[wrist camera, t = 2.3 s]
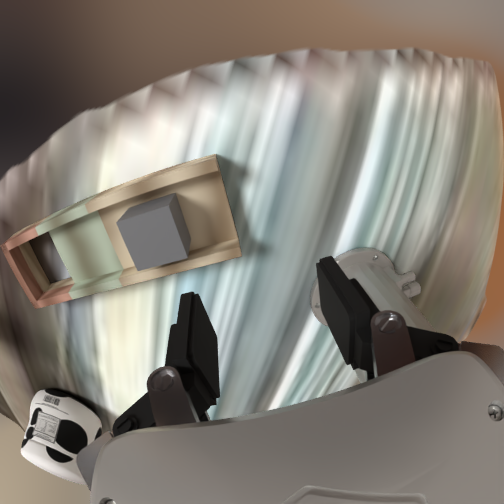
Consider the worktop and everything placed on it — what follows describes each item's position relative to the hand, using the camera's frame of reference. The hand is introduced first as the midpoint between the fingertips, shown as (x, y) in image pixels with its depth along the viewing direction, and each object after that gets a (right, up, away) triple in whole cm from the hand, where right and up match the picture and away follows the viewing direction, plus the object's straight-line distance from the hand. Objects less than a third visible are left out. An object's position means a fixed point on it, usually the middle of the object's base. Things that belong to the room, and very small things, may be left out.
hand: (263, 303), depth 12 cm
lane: (-17, +4, +15) cm, 23 cm away
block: (-10, +5, +14) cm, 17 cm away
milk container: (-41, -32, +31) cm, 61 cm away
